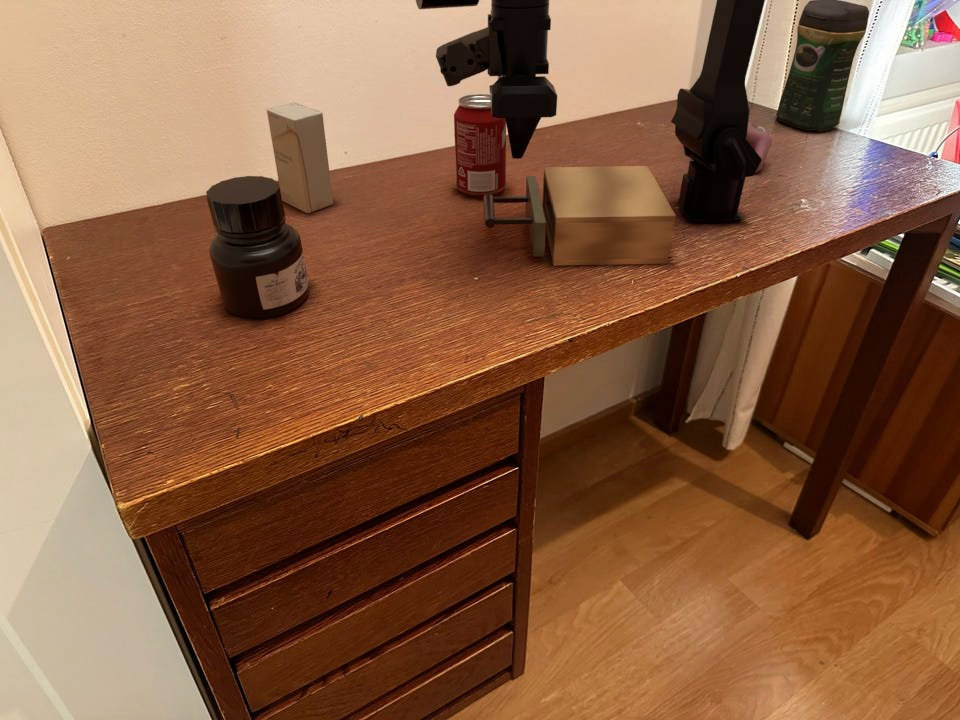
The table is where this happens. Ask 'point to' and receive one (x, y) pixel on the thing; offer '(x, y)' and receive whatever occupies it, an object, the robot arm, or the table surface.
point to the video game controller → (759, 141)
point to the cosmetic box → (301, 156)
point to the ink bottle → (255, 248)
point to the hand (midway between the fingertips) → (517, 157)
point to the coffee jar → (822, 63)
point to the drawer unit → (607, 216)
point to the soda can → (479, 147)
